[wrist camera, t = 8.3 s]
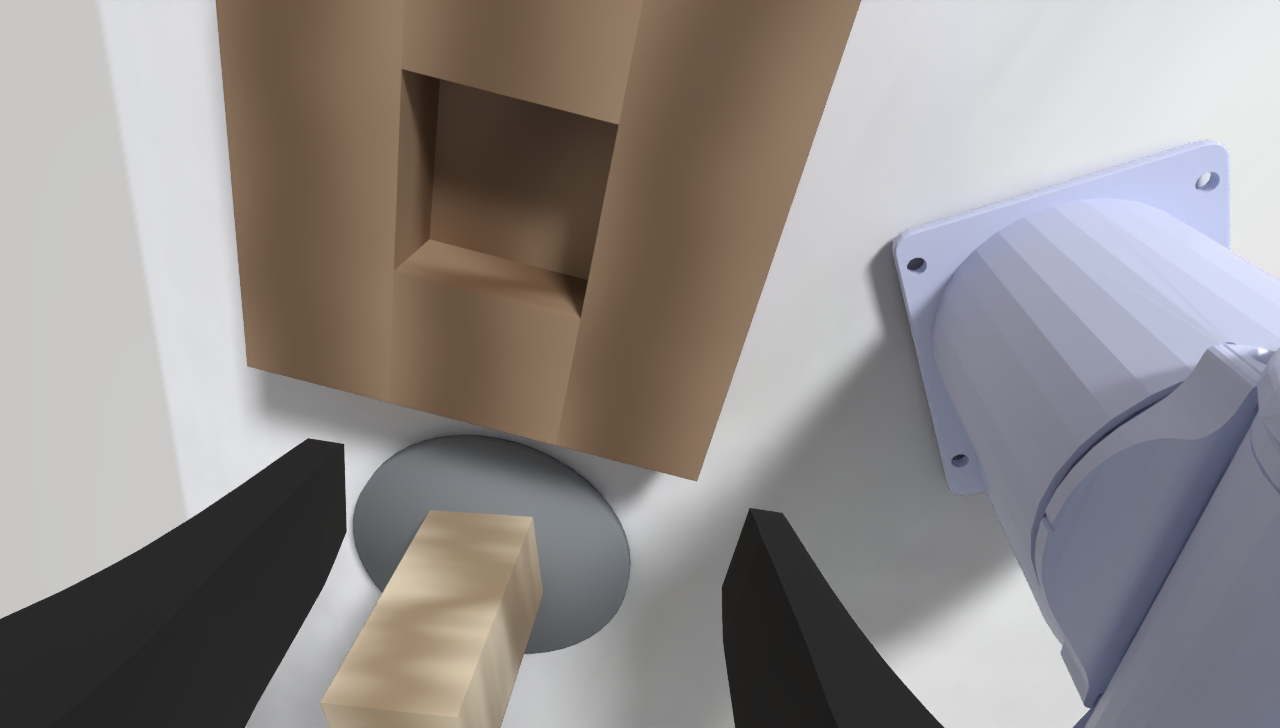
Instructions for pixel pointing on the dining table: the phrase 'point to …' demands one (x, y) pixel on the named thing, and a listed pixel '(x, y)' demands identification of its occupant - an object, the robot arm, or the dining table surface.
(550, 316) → the pocket block
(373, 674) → the peg
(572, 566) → the coaster
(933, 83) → the dining table surface
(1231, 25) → the dining table surface
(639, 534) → the dining table surface
